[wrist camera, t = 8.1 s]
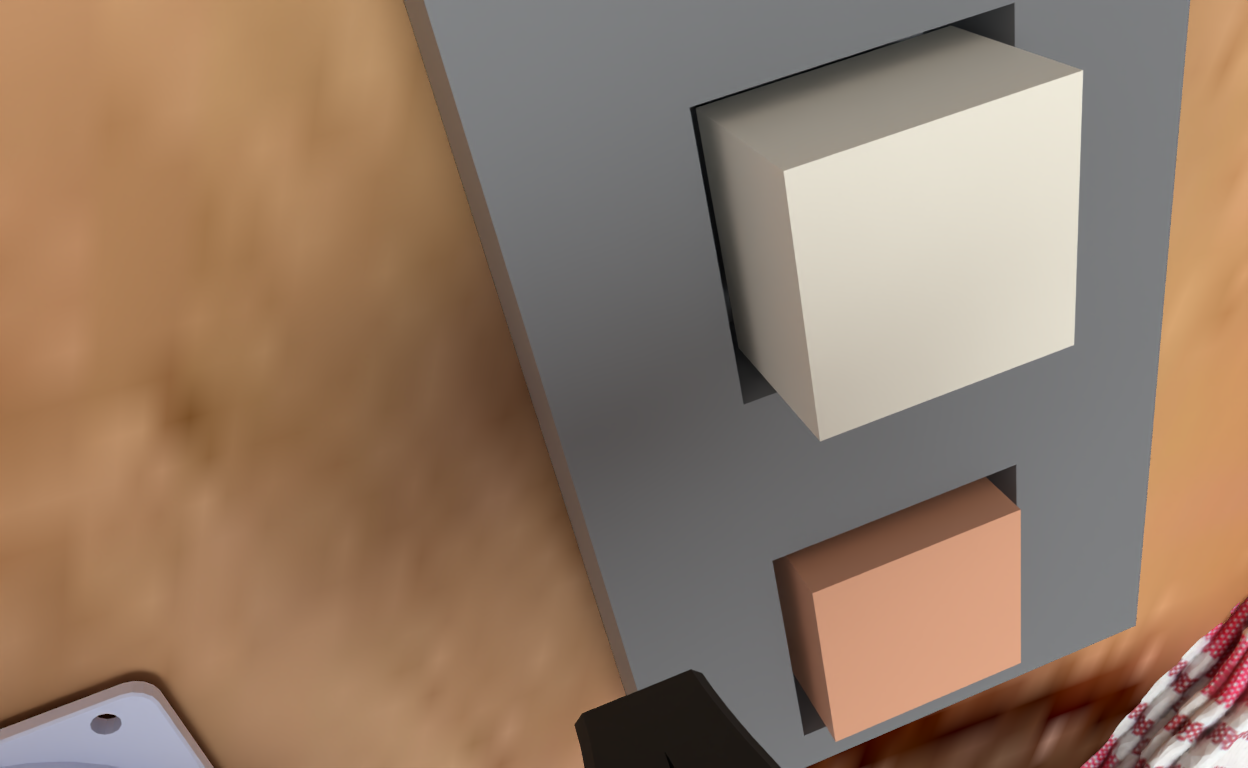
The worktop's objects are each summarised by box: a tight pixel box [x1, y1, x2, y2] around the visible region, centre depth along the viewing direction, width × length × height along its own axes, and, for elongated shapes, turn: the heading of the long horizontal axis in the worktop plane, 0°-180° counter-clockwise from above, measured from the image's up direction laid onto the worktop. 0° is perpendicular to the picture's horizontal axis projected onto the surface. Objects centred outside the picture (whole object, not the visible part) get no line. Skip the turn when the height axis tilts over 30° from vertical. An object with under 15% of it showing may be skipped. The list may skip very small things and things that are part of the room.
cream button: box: [696, 26, 1083, 441], centre depth 15 cm, size 4×4×3 cm
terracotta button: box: [772, 477, 1021, 742], centre depth 21 cm, size 4×4×3 cm
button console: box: [404, 0, 1190, 768], centre depth 17 cm, size 11×24×4 cm, turn 12°
